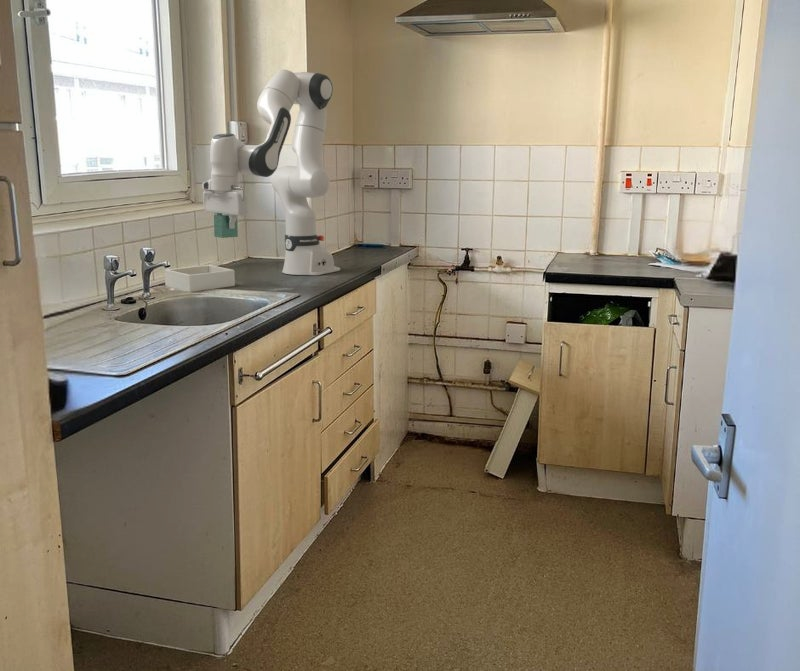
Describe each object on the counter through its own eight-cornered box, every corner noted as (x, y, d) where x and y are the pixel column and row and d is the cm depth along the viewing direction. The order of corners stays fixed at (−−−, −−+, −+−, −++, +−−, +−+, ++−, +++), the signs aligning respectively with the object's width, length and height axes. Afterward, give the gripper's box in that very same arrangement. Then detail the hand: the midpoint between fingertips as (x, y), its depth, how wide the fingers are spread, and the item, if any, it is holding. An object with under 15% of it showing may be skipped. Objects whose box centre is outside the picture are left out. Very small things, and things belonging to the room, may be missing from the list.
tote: (210, 282, 274) (209, 264, 273) (235, 287, 264) (234, 270, 263) (165, 287, 262) (164, 269, 261) (190, 294, 252) (189, 275, 251)
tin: (229, 235, 265) (229, 214, 263) (237, 236, 262) (237, 215, 260) (214, 236, 260) (213, 215, 259) (222, 237, 257) (221, 216, 256)
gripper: (252, 186, 253) (252, 229, 256) (215, 183, 266) (216, 224, 269) (235, 186, 248) (236, 231, 251) (199, 183, 262) (200, 225, 265)
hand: (225, 227), depth 260 cm, fingers closed on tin, 4 cm apart
